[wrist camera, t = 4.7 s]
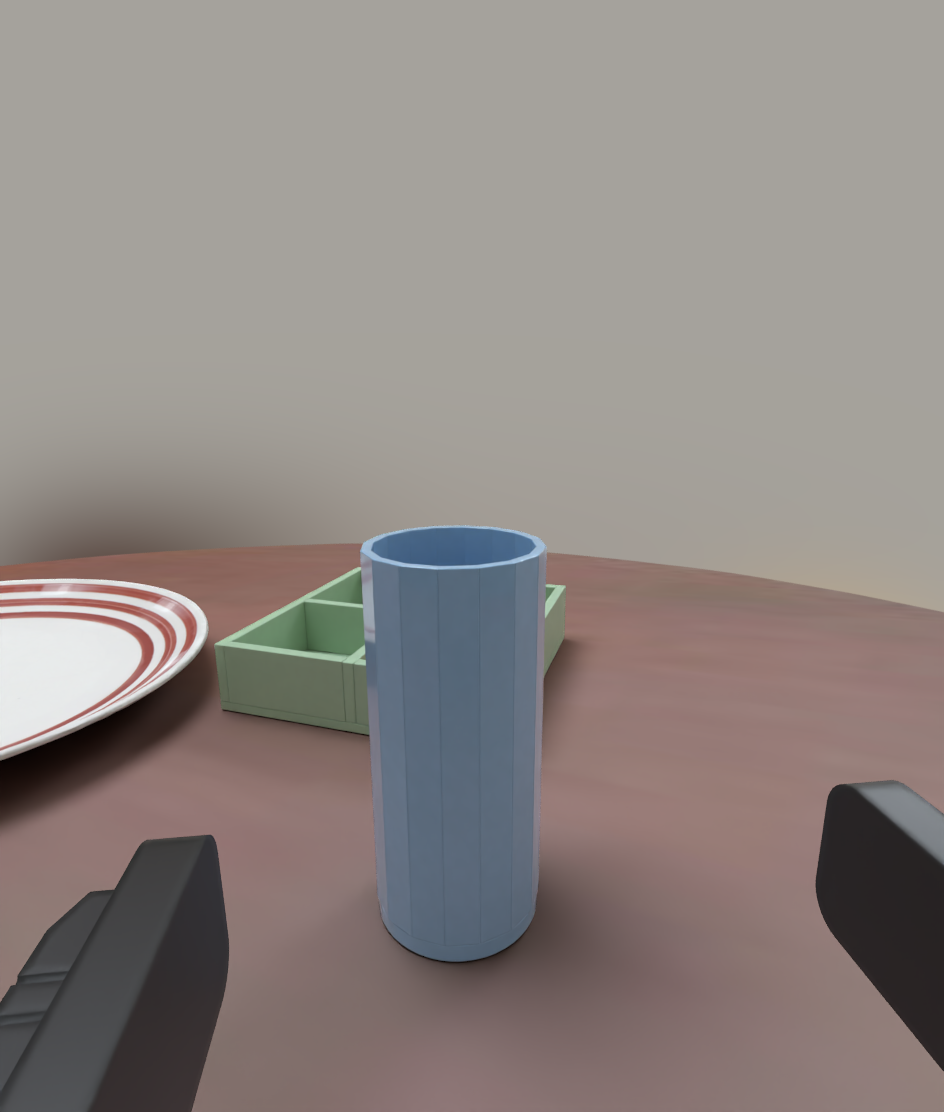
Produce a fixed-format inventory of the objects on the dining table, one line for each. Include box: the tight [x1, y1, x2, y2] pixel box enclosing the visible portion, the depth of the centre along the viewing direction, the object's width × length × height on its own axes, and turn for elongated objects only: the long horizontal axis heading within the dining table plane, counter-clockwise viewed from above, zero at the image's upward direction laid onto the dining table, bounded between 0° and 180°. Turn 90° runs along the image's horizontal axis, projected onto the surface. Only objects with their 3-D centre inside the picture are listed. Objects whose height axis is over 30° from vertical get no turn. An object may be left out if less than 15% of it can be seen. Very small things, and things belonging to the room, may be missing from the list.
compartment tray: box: [214, 568, 566, 735], centre depth 38 cm, size 15×15×4 cm
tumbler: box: [360, 525, 547, 962], centre depth 20 cm, size 5×5×12 cm
